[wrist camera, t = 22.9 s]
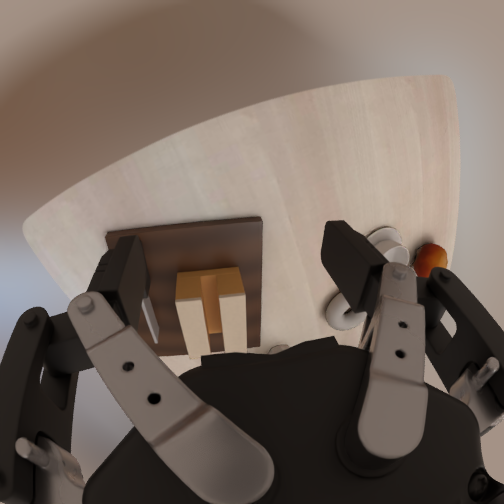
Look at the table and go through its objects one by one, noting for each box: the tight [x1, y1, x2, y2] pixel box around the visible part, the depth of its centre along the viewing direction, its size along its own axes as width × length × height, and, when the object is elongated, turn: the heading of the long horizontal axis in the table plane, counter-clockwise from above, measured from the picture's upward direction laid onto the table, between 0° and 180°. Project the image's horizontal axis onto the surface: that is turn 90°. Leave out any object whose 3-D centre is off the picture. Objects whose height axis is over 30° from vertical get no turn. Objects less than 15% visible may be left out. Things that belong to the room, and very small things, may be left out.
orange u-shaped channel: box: [175, 267, 247, 359], centre depth 40 cm, size 12×9×7 cm
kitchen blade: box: [140, 240, 159, 343], centre depth 38 cm, size 17×2×4 cm, turn 0°
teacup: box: [367, 228, 409, 266], centre depth 44 cm, size 10×10×5 cm
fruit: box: [410, 244, 448, 277], centre depth 47 cm, size 8×8×8 cm
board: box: [105, 217, 263, 356], centre depth 43 cm, size 26×22×2 cm
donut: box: [326, 293, 367, 331], centre depth 50 cm, size 10×3×10 cm
